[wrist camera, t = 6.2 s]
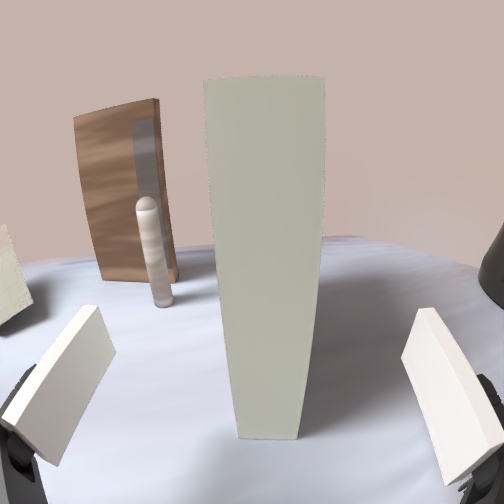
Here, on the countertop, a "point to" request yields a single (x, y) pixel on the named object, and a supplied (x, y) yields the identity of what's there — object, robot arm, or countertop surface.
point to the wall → (11, 280)
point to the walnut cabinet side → (127, 195)
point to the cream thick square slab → (267, 238)
